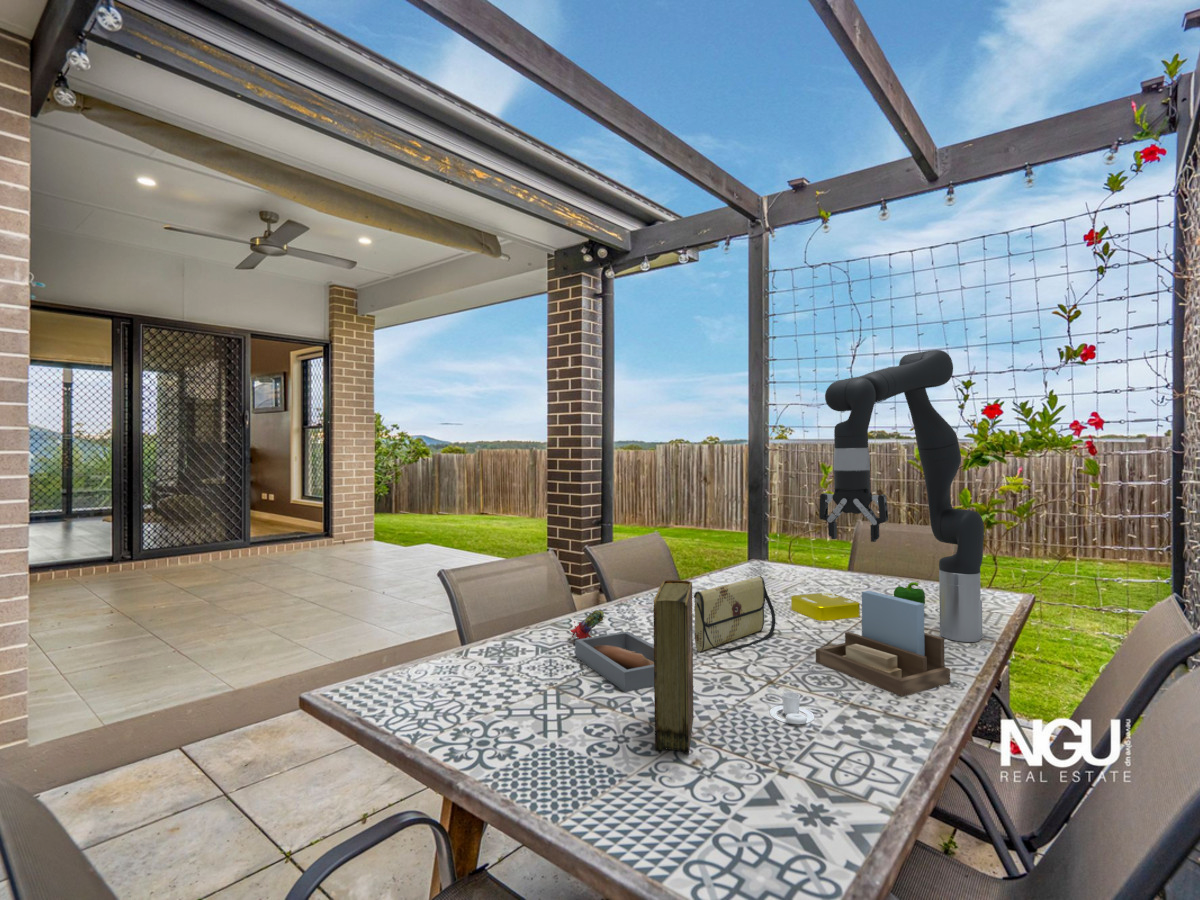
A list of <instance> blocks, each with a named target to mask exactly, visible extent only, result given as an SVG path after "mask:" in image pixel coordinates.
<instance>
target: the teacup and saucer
mask: <svg viewBox="0 0 1200 900" xmlns="http://www.w3.org/2000/svg"><path fill="white" fill-rule="evenodd" d="M781 695H782V699H781V700H782V705H780V704H779V705H776V706H773V707H772V708H770V710H769V715H770V716H771V717H772V718H773V719H775V720H777V721H778V722H782V723H786V724H791V725H805V724H809V723H811V722H813V721H814V719H815V715H814V714H813V712H812V711H810V710H808V709H807V708H804V707H801V706H800V703H801V702H800V699H801V697H800V694H799V693H797V692H794V691H785V692H782V694H781ZM780 710H783V713H784V715H785V719H784V718H782V717H780V716H778V714H777V712H779V711H780ZM799 711H800V712H802V713H804V714H805V715H804V714H802V713H801V714H800V713H799Z"/></svg>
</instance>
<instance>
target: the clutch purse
mask: <svg viewBox="0 0 1200 900" xmlns="http://www.w3.org/2000/svg"><path fill="white" fill-rule="evenodd" d="M693 603H694V643H695V648H696V651H698V653H702V652H704V651H706V650H709V649H712V648H714V649H716V650H717V651H718V650H719V651H725V652H726V651H733V650H737V649H742V648H746V647H750V646H753V645H756V644H758V642H759V643H761V642H763V641H765V640H767V639H769V638H770V637H771V636H772V635H773V634H774V632H775V627H776V614H775V609H774V606H773V604H772V602H771V599H770V597H769V595H768V591H767V588H766V583H765V578H763V577H762V576H761V575H758V576H756V577H752V578H747V579H744V580H740V581H735V582H732V583H728V584H724V585H720V586H717V587H712V588H708V589H704V590H701V591H696V592H695V593H694V595H693ZM765 603H767V605H768V606H767V607H768V608H769V610H770V615H771V626H770V630H769V632H768V634H766V635H764V636H763V637H761V638H760V639H757V640H754V641H752V642H749V643H745V644H741V645H736V646H734V647H733V646H732V647H728V648H720V647H717V646H720V645H723V644H726V643H729V642H732V641H735V640H738V639H741V638H743V637H746V636H748V635H752V634H754V633H758V632H762V630H763V629H764V626H765V625H764V624H765ZM752 644H753V645H752Z"/></svg>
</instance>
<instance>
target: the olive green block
mask: <svg viewBox="0 0 1200 900" xmlns="http://www.w3.org/2000/svg"><path fill="white" fill-rule="evenodd" d="M693 618H694V617H693V581H689V580H680V579H678V580H677V579H674V580H673V579H671V580H670V579H669V580H663V581H662V582H661V584H660V585H659V588H658V591H657V592H656V595H655V597H654V599H653V645H654V686H653V687H654V688H653V689H654V690H653V691H654V695H653V696H654V700H653V701H654V702H653V703H654V708H653V709H654V750H655V751H656V752H658V751H663V750H673V751H679V752H682V753H685V754H690V749H691V741H692V734H693V731H692V730H693V723H694V644H693V643H694V638H693V637H694V636H693V635H694V633H693V630H694V629H693Z"/></svg>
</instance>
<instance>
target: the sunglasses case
mask: <svg viewBox="0 0 1200 900" xmlns="http://www.w3.org/2000/svg"><path fill="white" fill-rule="evenodd" d="M593 648H594V649H596V650H597V651H599V652H600V653H602V654H604V655H605V656H607V657H608V658H610V659H611V660H613V661H614V662H616V663H617V664H619V665H620V666H622V667H624V668H625V669H627V670H628V669H633V668H638V667H643V666H648V665H653V664H654V662H653V661H651V660H649V659H646V658H645V657H644V656H643V655H642V654H640V653H636V652H634V651H629V650H626V649H623V648H619V647H615V646H607V645H599V646H595V647H593Z"/></svg>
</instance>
